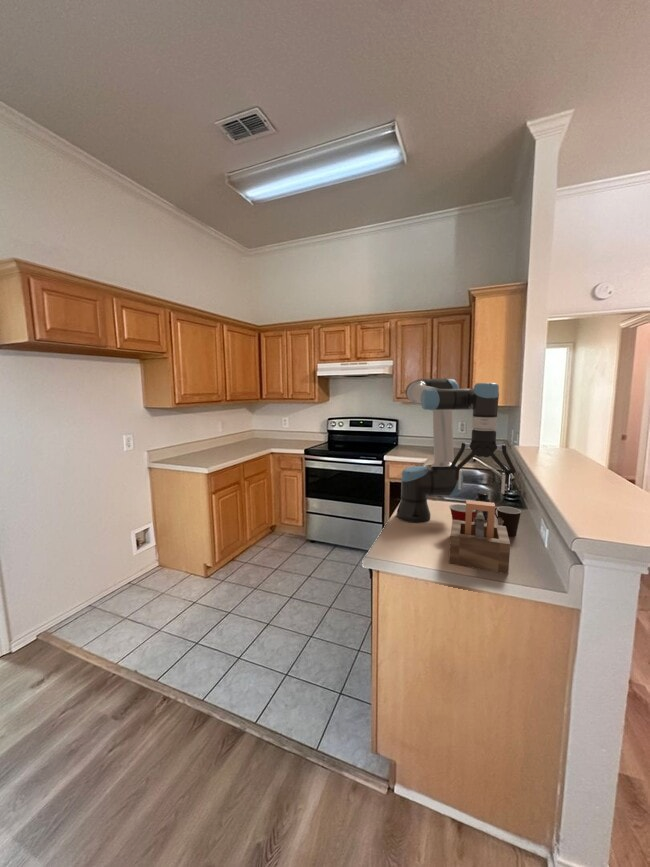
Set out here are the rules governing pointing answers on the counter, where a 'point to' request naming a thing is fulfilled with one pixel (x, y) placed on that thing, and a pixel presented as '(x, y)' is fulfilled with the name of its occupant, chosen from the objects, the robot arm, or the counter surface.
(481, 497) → the supplement bottle
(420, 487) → the robot arm
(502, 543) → the open wooden box
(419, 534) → the counter surface
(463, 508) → the plastic cup
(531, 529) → the counter surface
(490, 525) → the block
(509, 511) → the coffee mug
